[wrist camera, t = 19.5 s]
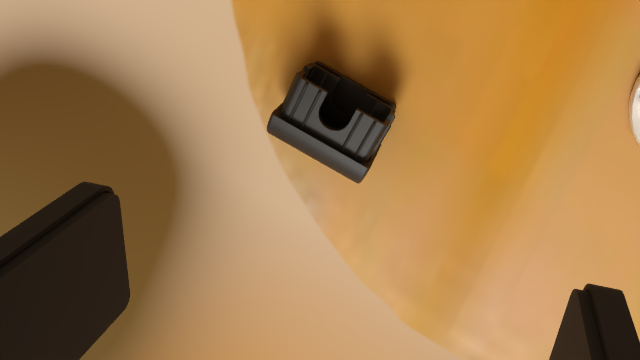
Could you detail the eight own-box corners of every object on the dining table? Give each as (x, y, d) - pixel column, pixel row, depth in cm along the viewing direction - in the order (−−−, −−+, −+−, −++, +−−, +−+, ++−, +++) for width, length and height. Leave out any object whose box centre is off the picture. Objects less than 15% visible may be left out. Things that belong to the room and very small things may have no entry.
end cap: (282, 117, 57) (258, 141, 52) (311, 56, 54) (288, 74, 48) (368, 165, 57) (353, 195, 51) (402, 107, 54) (391, 132, 48)
